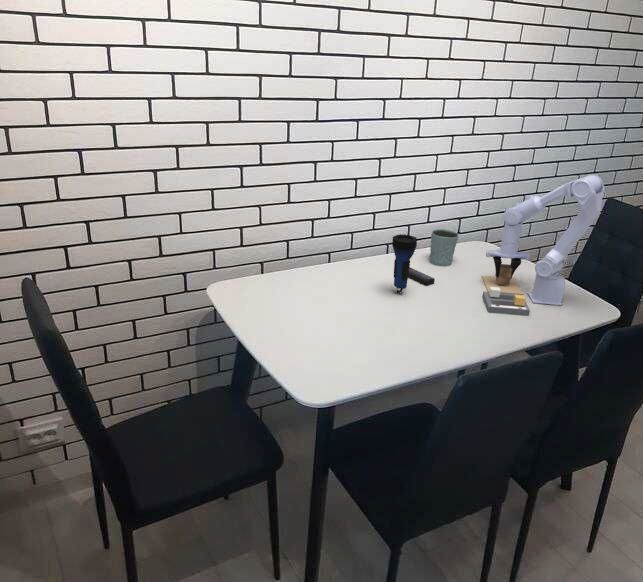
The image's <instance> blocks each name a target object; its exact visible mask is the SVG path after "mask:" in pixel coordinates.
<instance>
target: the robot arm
mask: <svg viewBox="0 0 643 582" xmlns="http://www.w3.org/2000/svg"><path fill="white" fill-rule="evenodd" d="M604 192H605V186H604V183H603V180H602V178H601V177H600V176H598V175H597V174H589V175H585V176H584V177H580V178H578V179H575V180H571V181H569V182H567V183H564V184H562V185H560V186H559V187H557V188H555V189H553V190H551V191H549V192H547V193H546V194H545V195H542V196H540V195H534V196H533V195H530V196H527V199H526V200H524V201H522V202H521V203H520V202H517V203H516V204H515V206H512V207H510V208H507V210H505V211H504V213H503V220H504V221H503V222H504V226H503V231H502V232H503V233H502V237H501V243H500V248H499V249H494V250H488V249H487V250H486V253H485V257H486V258H492V259H493V263H494V268H495V277H497V278H498V277H499V272H500V267H501V264H503V260H502V259H510V265H511V267H512V273H511V278H513V275H514V274H515V272H516V271H517V269H518V268H519V267H520V265H521V264H522V260H524V261H529V260H530V257H531V255H530V253H528V252H527V253H526V252H521V251H518V249H519V244H520V238H521V235H522V234H521V233H522V228H523V224H524V222H525V221H526V220H528V219H530V218H532V217H535V216H536V215H538V214H540V213H542V212H544V211H545V209H546V206H547V205H550V204H551V203H553V202H555V201H558V200H560V199H562V198H564V197H568V198H573V197H574V199H575V201H576V202H577V203H578V204H579V208H580V211H579V213H578V214H577V215H576V216H575V218H574V219H573V220H572V222H571V224H569V226H568V228H566V230H565V231H564V233H563V234H562V235H561V237H559V239H558V241H557V242H556V244H555V245H554V246H553V247H552V249H551V250H550V251H548V253H547V254H546V255H545V256H544V257H543V258H542V259H540V260H538V261H537V262H536V263H535V266H534V270H535V278H534V282H533V288H532V291H529V292H527V294H528V297H529V299H530V300H531V301H532V303H533V304H542V305H555V306H556V305H557V306H562V300H563V298H564V294H565V289H566V278H565V277H564V276H563V275H560V271H561V270H563V268H564V267H565V262H566V260H567V259H568V254H569V253H570V252H571V251H572V250H573V249H574V247H575V245H576V244H577V243H578V242H579V240H580V239H581V238H582V236H583V235H584V234H585V233H586V231H587V230H588V229H589V227H591V225H592V224H593V222H594V221H595V220H596V219H597V217H598V215H599V214H600V213H601V212H602V205H603V195H604ZM511 278H510V279H511Z"/></svg>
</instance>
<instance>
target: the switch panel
mask: <svg viewBox="0 0 643 582" xmlns="http://www.w3.org/2000/svg"><path fill="white" fill-rule="evenodd" d="M514 295H519V294H507V293H500V296H499V297H490V295H489V292H487V291H482V300H483V303H484V306H485V309H486V312H487V313H494V314H504V315H513V316H515V315H516V316H527V317H529V316H530V312H531V309H530V307H529V305H528V304H527V302H526V300H525V304H524V306H521V305H514V302H513V300H514Z"/></svg>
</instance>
